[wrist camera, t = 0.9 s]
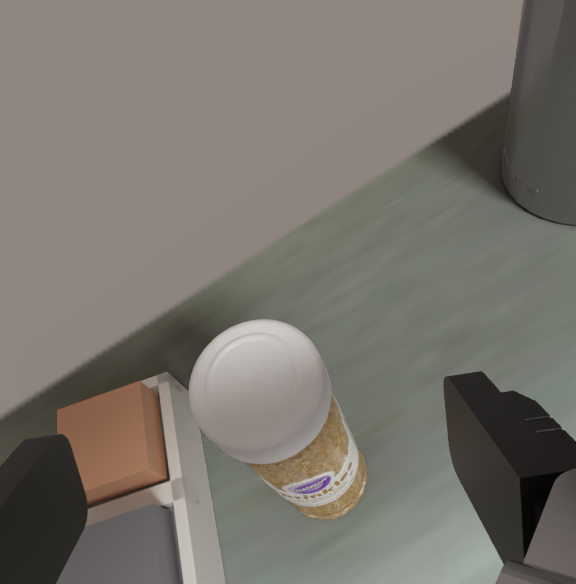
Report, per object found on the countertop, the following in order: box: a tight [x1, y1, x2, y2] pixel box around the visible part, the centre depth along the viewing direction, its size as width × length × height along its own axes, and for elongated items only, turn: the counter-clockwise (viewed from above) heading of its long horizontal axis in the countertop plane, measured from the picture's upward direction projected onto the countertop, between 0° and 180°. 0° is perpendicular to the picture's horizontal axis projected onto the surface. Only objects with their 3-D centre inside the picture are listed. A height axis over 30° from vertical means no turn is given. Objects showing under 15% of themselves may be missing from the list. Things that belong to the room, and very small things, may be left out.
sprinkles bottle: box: [189, 319, 367, 519], centre depth 23 cm, size 5×5×14 cm
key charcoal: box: [59, 504, 180, 584], centre depth 24 cm, size 5×5×2 cm
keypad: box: [85, 372, 226, 584], centre depth 27 cm, size 6×13×4 cm, turn 15°
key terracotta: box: [57, 381, 167, 505], centre depth 27 cm, size 5×5×2 cm
